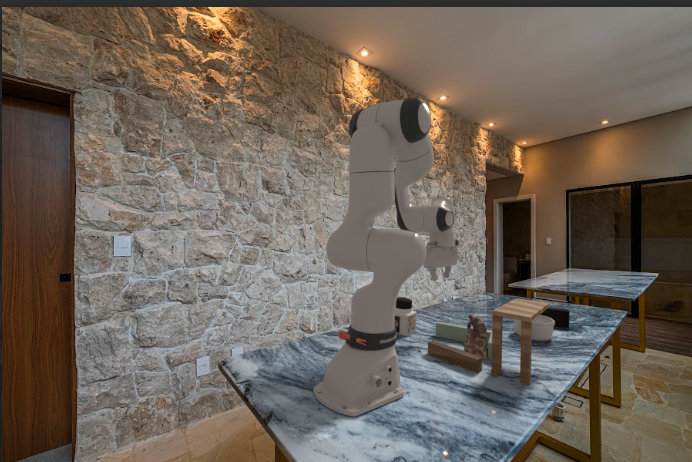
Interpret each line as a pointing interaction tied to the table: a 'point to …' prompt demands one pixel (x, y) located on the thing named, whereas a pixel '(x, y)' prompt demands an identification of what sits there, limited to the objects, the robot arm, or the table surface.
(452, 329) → the sage green l-bracket
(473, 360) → the stick
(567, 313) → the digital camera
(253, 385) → the table surface
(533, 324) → the ramekin
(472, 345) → the figurine
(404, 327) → the container
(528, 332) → the shelf
